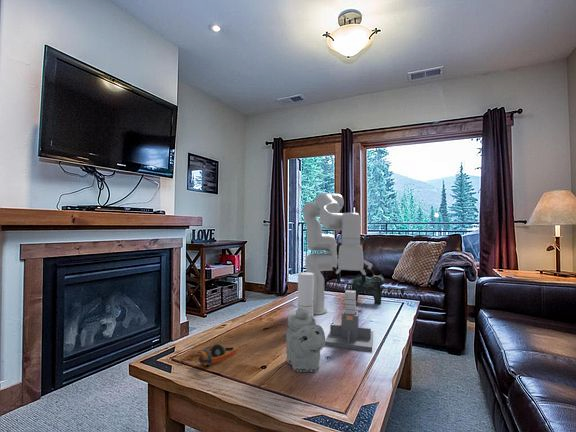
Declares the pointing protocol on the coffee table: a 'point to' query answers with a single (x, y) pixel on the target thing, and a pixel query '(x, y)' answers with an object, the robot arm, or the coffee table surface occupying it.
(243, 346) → the coffee table surface
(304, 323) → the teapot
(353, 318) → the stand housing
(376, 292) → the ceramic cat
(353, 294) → the steel post
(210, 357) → the headphones
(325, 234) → the robot arm
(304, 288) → the cylindrical container
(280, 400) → the coffee table surface
